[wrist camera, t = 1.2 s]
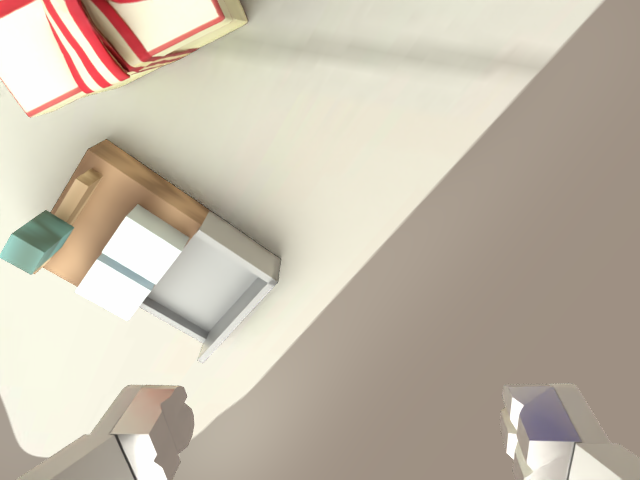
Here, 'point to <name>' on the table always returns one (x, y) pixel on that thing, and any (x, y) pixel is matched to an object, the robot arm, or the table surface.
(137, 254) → the tile near
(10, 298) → the table surface
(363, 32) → the table surface
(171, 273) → the tray
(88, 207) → the tan wooden board
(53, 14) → the gift box
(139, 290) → the tile far
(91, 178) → the teal-headed mallet
